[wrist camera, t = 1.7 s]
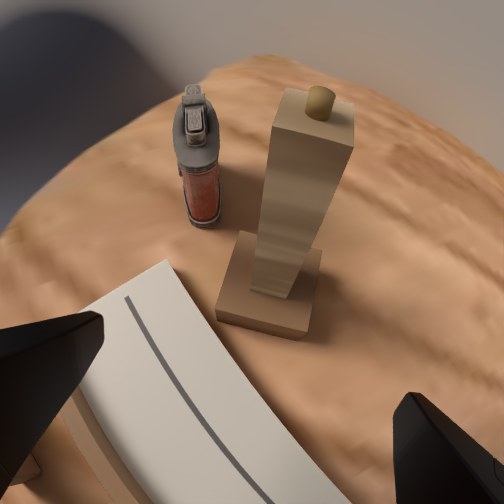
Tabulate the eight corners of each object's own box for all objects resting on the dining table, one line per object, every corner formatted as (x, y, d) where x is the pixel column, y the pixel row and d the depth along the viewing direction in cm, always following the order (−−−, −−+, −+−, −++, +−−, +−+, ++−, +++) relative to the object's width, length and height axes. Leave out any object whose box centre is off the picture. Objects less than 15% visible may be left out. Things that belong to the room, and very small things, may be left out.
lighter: (182, 162, 28) (170, 75, 20) (216, 158, 29) (214, 70, 20) (186, 231, 25) (165, 140, 16) (226, 226, 25) (224, 133, 16)
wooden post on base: (297, 341, 21) (428, 194, 6) (217, 320, 22) (185, 131, 7) (312, 268, 24) (402, 81, 9) (239, 249, 24) (249, 42, 9)
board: (355, 508, 15) (374, 522, 12) (222, 583, 11) (221, 605, 8) (169, 267, 23) (160, 245, 20) (50, 340, 20) (26, 329, 16)
